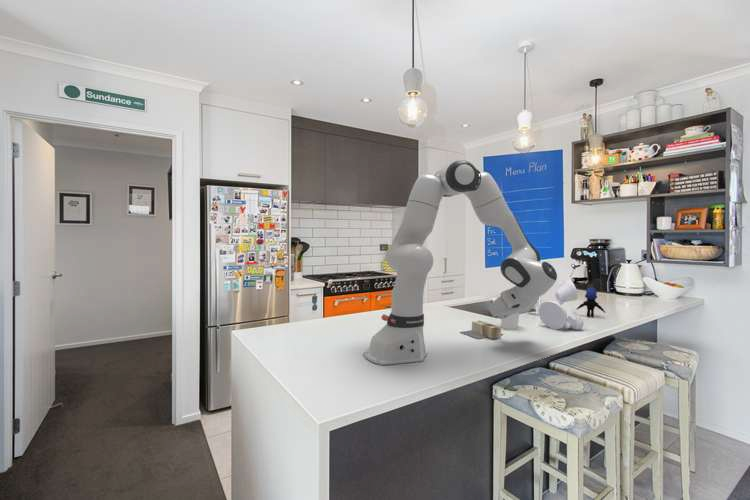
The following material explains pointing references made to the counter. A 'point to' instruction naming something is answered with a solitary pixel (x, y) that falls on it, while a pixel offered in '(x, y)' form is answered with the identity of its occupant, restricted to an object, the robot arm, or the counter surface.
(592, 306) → the toy
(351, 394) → the counter surface
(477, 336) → the mat
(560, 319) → the light fixture
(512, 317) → the foam cup
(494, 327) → the block
